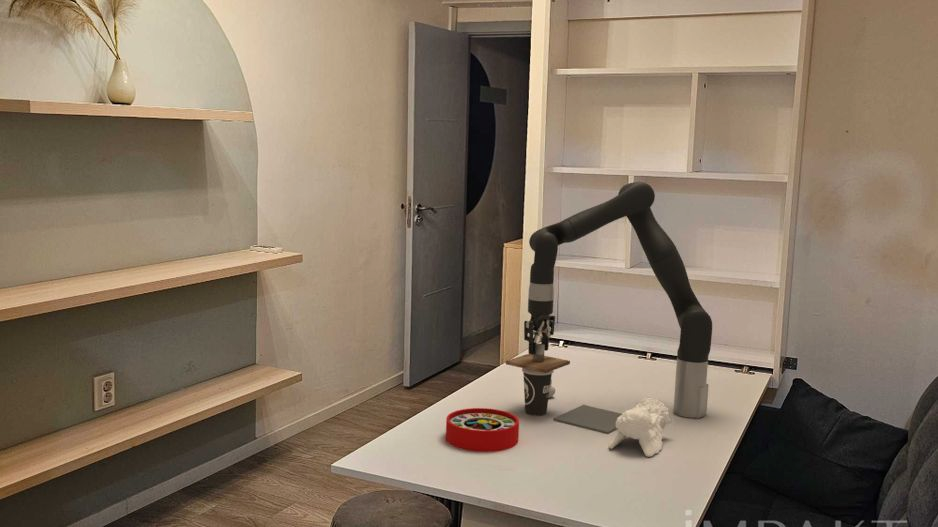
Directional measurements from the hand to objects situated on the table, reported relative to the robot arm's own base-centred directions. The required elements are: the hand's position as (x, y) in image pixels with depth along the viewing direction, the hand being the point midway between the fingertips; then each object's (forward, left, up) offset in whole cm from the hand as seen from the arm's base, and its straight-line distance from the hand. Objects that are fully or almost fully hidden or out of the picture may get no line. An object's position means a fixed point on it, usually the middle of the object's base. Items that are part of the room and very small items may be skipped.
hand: (538, 351), depth 261 cm
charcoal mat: (-17, -6, -19) cm, 26 cm away
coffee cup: (0, 0, -19) cm, 19 cm away
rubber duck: (+6, -16, -19) cm, 26 cm away
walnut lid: (0, 0, -4) cm, 4 cm away
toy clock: (-1, +30, -19) cm, 36 cm away
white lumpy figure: (-37, +5, -19) cm, 42 cm away
